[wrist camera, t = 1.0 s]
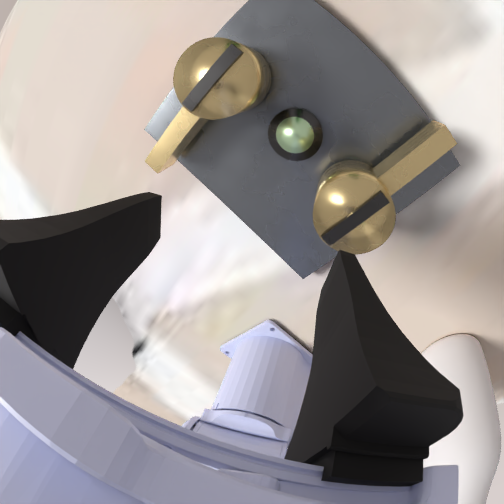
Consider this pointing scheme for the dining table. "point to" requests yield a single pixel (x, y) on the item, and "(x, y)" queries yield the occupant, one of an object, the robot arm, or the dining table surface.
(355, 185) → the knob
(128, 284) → the dining table surface
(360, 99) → the plate
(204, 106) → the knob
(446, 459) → the milk bottle
